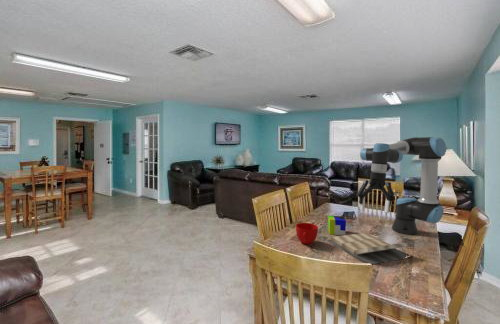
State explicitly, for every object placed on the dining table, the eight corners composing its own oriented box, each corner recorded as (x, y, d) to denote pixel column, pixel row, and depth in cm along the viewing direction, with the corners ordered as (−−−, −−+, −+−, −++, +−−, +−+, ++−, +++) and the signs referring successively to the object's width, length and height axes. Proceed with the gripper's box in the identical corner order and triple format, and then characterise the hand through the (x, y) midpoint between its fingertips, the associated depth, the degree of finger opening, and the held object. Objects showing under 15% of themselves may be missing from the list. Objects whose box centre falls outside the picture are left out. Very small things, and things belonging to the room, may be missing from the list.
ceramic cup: (292, 247, 146) (292, 230, 146) (297, 237, 162) (298, 221, 161) (315, 250, 142) (315, 233, 141) (318, 240, 158) (319, 224, 157)
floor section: (366, 235, 166) (366, 232, 166) (412, 257, 135) (413, 253, 135) (327, 240, 157) (327, 236, 157) (367, 265, 126) (367, 260, 125)
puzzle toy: (345, 235, 166) (345, 220, 165) (329, 234, 168) (329, 219, 167) (342, 230, 176) (343, 216, 175) (327, 229, 178) (328, 215, 177)
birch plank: (393, 248, 144) (392, 245, 145) (407, 246, 136) (406, 242, 136) (355, 254, 136) (354, 250, 137) (368, 252, 127) (367, 247, 128)
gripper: (358, 170, 132) (354, 210, 133) (405, 174, 133) (400, 215, 134) (352, 169, 140) (348, 207, 140) (396, 173, 141) (392, 211, 141)
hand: (374, 211), depth 137 cm, fingers open, 13 cm apart
